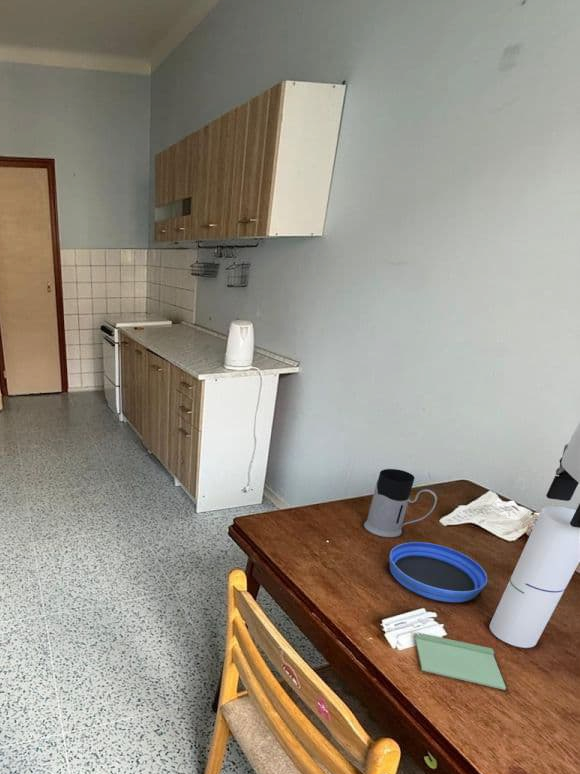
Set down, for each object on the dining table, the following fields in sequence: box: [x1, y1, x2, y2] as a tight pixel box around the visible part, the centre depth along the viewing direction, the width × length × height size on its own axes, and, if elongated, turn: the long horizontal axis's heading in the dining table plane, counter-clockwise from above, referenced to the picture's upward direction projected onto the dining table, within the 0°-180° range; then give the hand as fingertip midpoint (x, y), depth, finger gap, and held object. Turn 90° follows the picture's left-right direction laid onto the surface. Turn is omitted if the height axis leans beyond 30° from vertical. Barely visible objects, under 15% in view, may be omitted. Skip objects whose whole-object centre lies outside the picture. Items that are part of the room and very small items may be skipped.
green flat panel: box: [413, 631, 507, 691], centre depth 82 cm, size 12×9×1 cm
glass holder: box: [363, 468, 438, 538], centre depth 116 cm, size 9×14×15 cm, turn 39°
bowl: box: [388, 541, 488, 603], centre depth 102 cm, size 18×18×4 cm
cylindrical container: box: [488, 505, 580, 649], centre depth 82 cm, size 7×7×25 cm
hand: (569, 512), depth 75 cm, fingers open, 9 cm apart
